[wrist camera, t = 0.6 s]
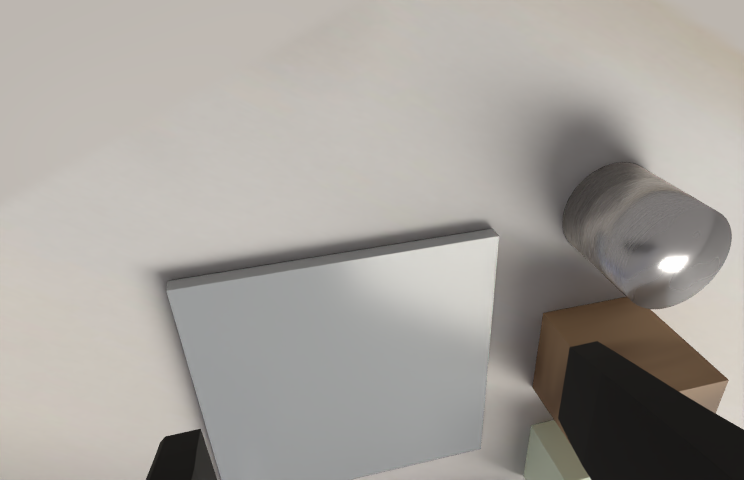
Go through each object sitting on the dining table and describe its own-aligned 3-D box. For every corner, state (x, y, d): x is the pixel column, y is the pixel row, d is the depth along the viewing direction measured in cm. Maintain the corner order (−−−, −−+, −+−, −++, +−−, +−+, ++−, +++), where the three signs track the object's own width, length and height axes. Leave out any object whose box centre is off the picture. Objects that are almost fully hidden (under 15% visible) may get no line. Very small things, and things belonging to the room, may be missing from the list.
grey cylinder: (642, 244, 23) (712, 298, 20) (556, 258, 22) (613, 317, 19) (664, 156, 21) (746, 200, 18) (569, 169, 20) (637, 217, 17)
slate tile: (476, 439, 27) (480, 448, 26) (229, 496, 25) (229, 508, 24) (492, 228, 21) (499, 236, 20) (167, 281, 19) (166, 290, 18)
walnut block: (615, 368, 27) (697, 460, 22) (532, 386, 26) (598, 485, 22) (633, 294, 25) (728, 380, 20) (542, 312, 24) (619, 405, 19)
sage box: (588, 457, 30) (627, 514, 27) (522, 474, 30) (555, 534, 27) (600, 407, 28) (644, 463, 25) (530, 423, 28) (566, 483, 25)
